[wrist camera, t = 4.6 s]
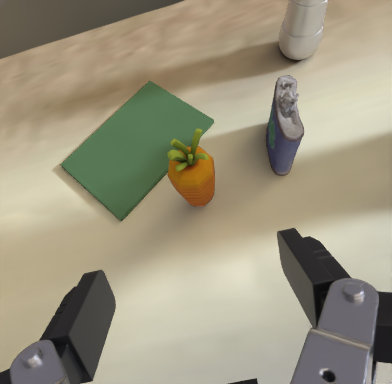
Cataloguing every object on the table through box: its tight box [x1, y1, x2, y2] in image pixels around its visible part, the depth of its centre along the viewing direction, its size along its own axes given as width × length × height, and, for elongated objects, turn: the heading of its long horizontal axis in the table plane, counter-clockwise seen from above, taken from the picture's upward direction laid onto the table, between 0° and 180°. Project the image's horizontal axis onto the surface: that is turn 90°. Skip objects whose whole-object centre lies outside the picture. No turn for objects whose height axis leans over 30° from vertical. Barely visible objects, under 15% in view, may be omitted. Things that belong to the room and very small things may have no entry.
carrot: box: [167, 129, 215, 206], centre depth 31 cm, size 5×5×15 cm
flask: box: [266, 75, 304, 175], centre depth 34 cm, size 9×3×11 cm, turn 179°
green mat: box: [61, 81, 214, 221], centre depth 42 cm, size 14×20×1 cm
